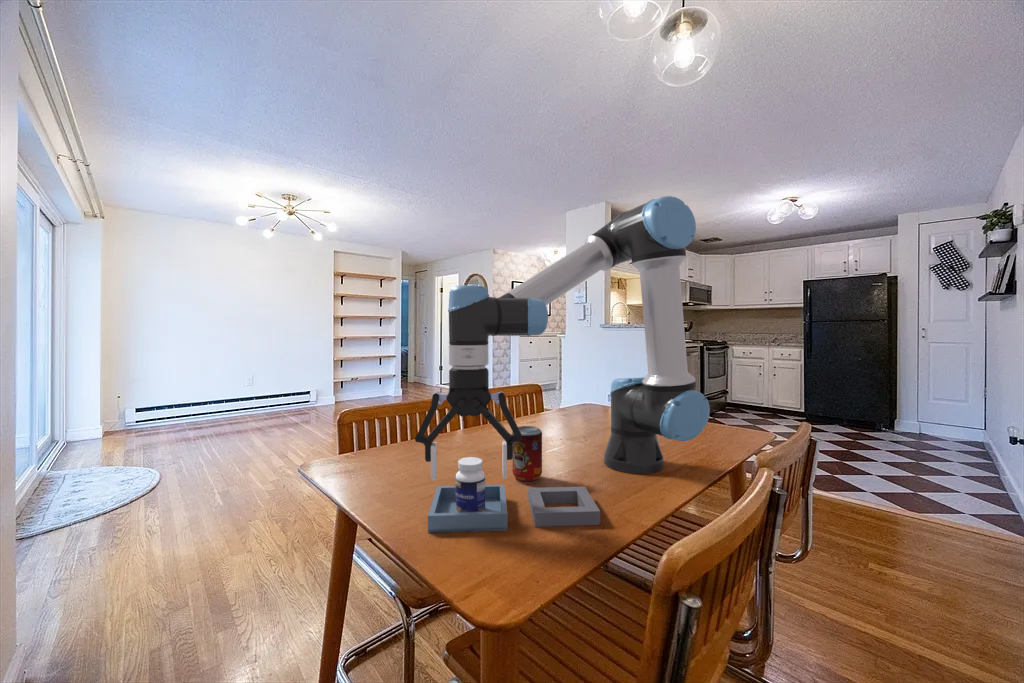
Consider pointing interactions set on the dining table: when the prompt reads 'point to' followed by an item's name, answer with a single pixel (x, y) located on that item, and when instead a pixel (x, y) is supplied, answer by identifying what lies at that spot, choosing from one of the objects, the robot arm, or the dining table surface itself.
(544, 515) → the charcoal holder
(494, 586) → the dining table surface
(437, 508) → the parts tray
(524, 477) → the soda can
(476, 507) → the pill bottle
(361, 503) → the dining table surface
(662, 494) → the dining table surface
